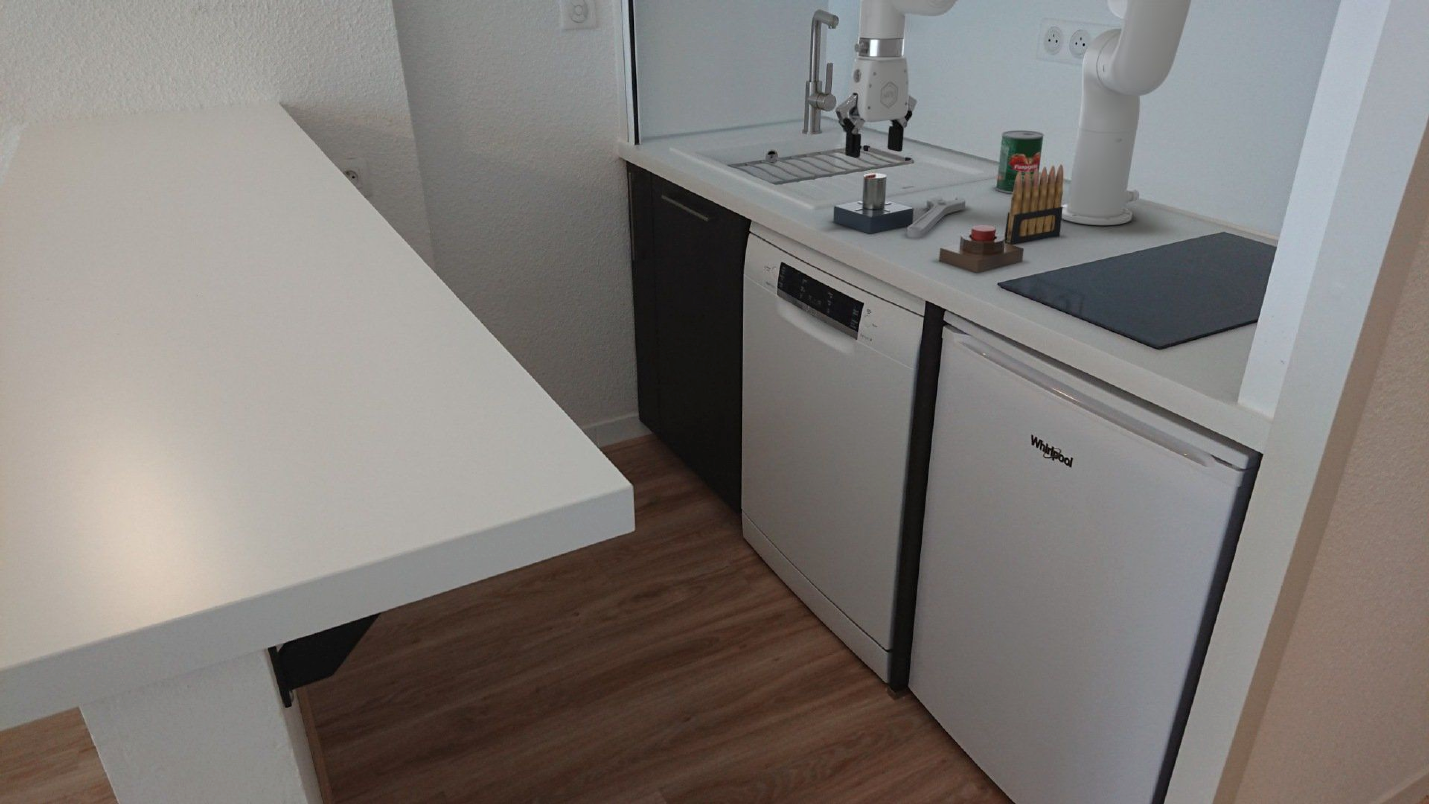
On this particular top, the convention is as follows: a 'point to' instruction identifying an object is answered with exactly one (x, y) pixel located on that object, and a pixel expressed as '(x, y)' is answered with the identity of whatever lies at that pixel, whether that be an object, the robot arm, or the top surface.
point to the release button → (983, 232)
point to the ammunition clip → (1035, 207)
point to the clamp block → (873, 216)
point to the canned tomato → (1018, 157)
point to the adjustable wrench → (934, 215)
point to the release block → (981, 253)
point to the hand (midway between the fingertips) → (873, 153)
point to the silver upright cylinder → (874, 191)
